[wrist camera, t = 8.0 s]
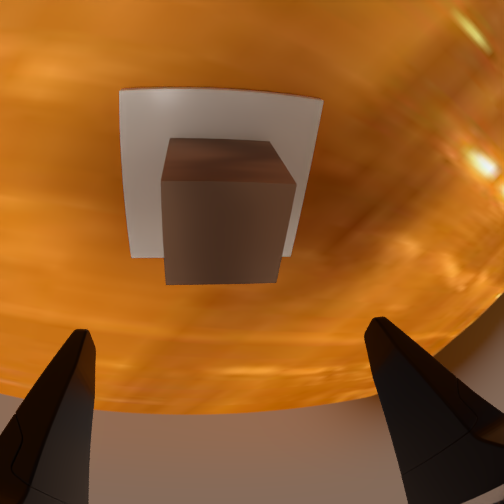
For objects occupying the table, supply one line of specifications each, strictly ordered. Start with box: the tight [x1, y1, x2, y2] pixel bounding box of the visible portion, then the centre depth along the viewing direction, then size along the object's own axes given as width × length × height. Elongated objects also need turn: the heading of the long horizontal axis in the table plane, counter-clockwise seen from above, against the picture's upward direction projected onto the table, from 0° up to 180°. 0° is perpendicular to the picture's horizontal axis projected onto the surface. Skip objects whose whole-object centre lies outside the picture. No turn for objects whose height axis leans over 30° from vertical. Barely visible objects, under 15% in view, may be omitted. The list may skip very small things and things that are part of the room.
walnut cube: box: [161, 138, 297, 285], centre depth 15 cm, size 5×5×5 cm
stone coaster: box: [119, 87, 324, 258], centre depth 17 cm, size 10×10×1 cm
